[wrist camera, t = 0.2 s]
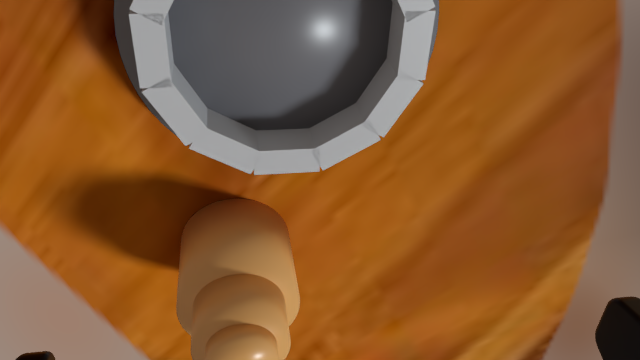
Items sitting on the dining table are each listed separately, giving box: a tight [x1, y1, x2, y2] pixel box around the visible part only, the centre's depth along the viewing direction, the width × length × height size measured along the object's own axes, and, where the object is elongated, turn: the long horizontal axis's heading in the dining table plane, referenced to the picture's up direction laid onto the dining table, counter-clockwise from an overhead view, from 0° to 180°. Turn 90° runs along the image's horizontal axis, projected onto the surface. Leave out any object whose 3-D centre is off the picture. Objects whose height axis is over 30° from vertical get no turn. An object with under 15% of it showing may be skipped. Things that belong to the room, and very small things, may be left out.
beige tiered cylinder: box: [177, 199, 300, 360], centre depth 23 cm, size 5×5×7 cm
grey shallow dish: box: [114, 0, 439, 175], centre depth 19 cm, size 11×11×2 cm
